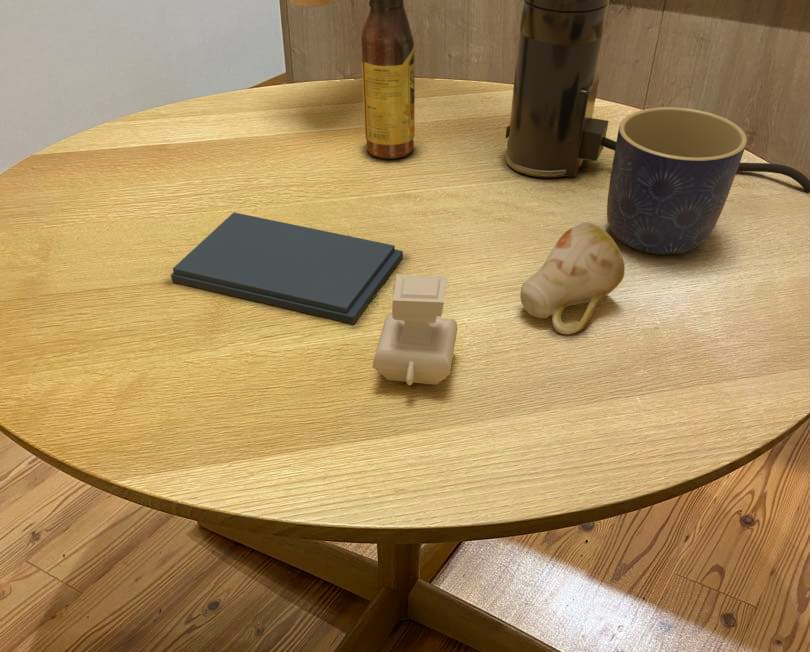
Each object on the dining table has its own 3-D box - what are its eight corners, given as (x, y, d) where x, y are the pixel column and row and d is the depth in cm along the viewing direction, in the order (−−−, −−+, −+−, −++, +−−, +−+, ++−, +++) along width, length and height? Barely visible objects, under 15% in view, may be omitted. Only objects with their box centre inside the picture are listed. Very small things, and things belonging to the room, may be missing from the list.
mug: (494, 310, 77) (528, 203, 74) (563, 326, 83) (598, 227, 79) (544, 330, 72) (583, 216, 68) (614, 346, 78) (653, 242, 74)
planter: (727, 226, 88) (761, 122, 80) (693, 277, 81) (727, 170, 73) (621, 198, 92) (643, 97, 84) (580, 245, 85) (600, 140, 77)
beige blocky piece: (386, 338, 74) (385, 254, 68) (457, 344, 73) (462, 260, 67) (370, 399, 68) (367, 314, 62) (447, 406, 68) (452, 321, 61)
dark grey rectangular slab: (403, 257, 83) (403, 245, 82) (353, 324, 75) (353, 311, 74) (235, 222, 88) (233, 210, 87) (172, 282, 80) (169, 269, 79)
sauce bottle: (422, 156, 99) (426, -35, 84) (375, 164, 97) (370, -29, 82) (402, 136, 103) (403, -50, 88) (357, 143, 101) (350, -45, 86)
